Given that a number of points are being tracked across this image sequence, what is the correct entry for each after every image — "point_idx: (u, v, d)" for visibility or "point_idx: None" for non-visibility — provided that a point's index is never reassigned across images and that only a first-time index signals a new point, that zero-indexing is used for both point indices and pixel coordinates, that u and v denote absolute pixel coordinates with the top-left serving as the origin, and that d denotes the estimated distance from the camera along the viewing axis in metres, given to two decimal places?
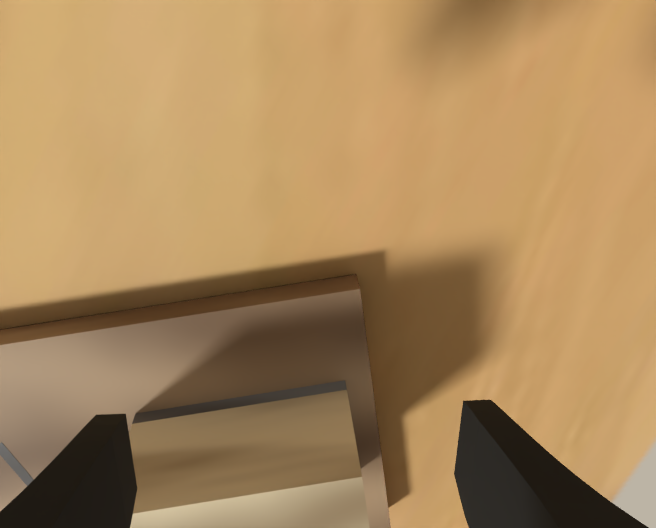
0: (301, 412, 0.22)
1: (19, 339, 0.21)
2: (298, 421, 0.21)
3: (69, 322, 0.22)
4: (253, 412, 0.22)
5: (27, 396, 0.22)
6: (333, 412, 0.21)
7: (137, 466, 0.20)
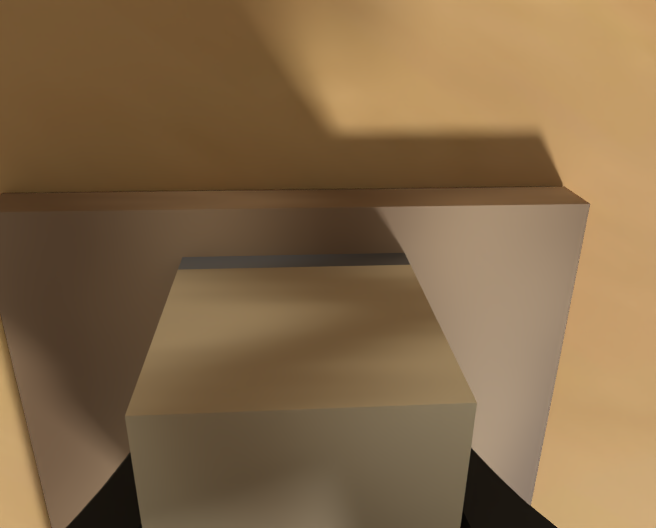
0: None
1: None
2: None
3: None
4: None
5: None
6: None
7: None
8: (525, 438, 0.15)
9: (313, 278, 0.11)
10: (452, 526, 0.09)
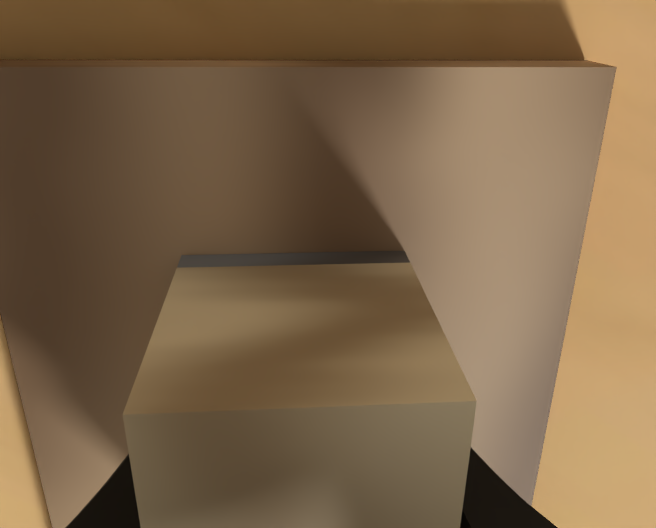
0: None
1: None
2: None
3: None
4: None
5: None
6: None
7: None
8: (542, 344, 0.14)
9: (312, 276, 0.11)
10: (452, 525, 0.09)
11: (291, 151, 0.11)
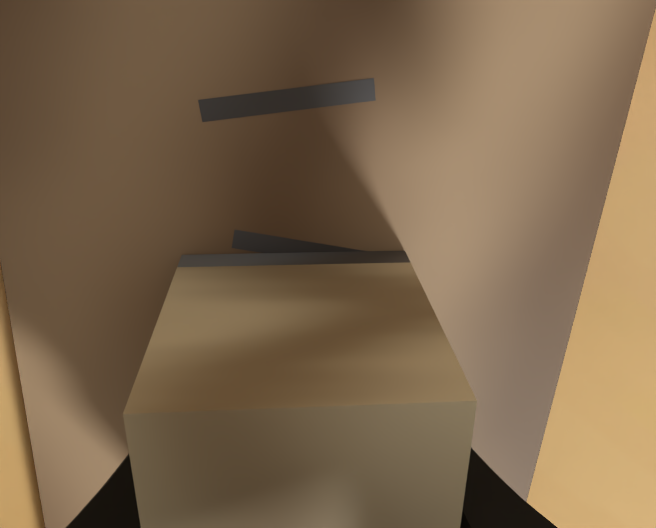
0: None
1: None
2: None
3: None
4: None
5: (123, 316, 0.13)
6: None
7: None
8: (632, 2, 0.11)
9: (313, 276, 0.11)
10: (452, 525, 0.09)
11: None
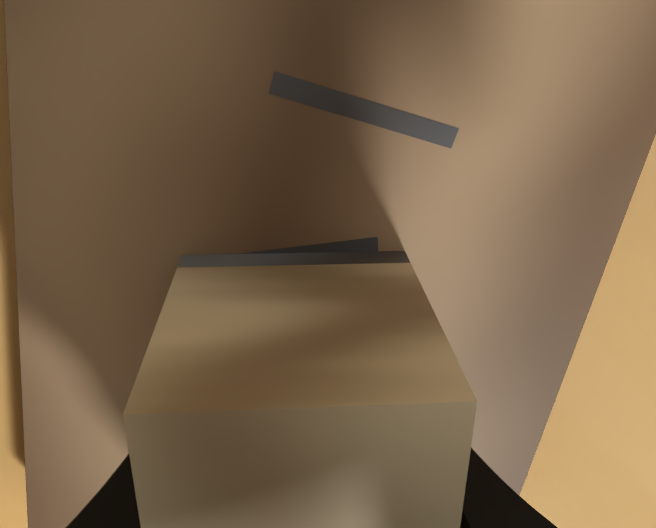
0: None
1: None
2: None
3: None
4: None
5: (138, 163, 0.11)
6: None
7: None
8: None
9: (313, 276, 0.11)
10: (452, 525, 0.09)
11: None
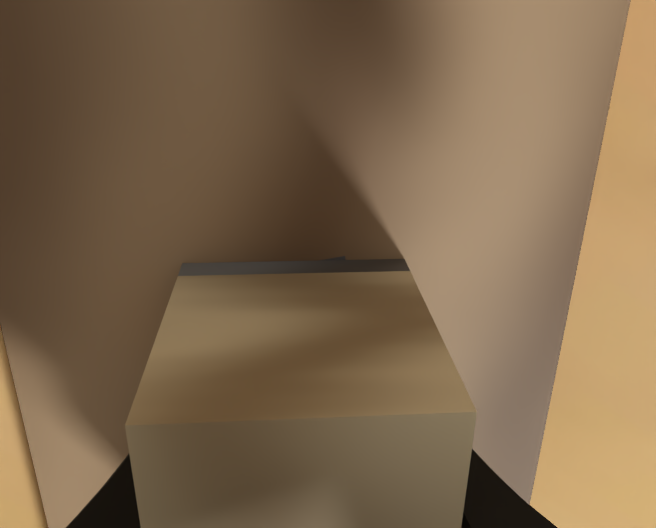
0: None
1: None
2: None
3: None
4: None
5: None
6: None
7: None
8: (572, 180, 0.12)
9: (313, 285, 0.11)
10: None
11: None
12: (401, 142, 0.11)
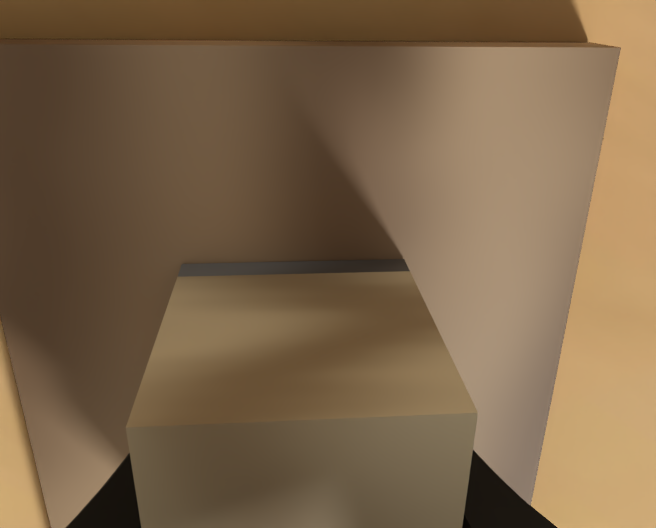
0: None
1: None
2: None
3: None
4: None
5: None
6: None
7: None
8: (544, 331, 0.14)
9: (313, 285, 0.11)
10: None
11: (291, 132, 0.11)
12: None
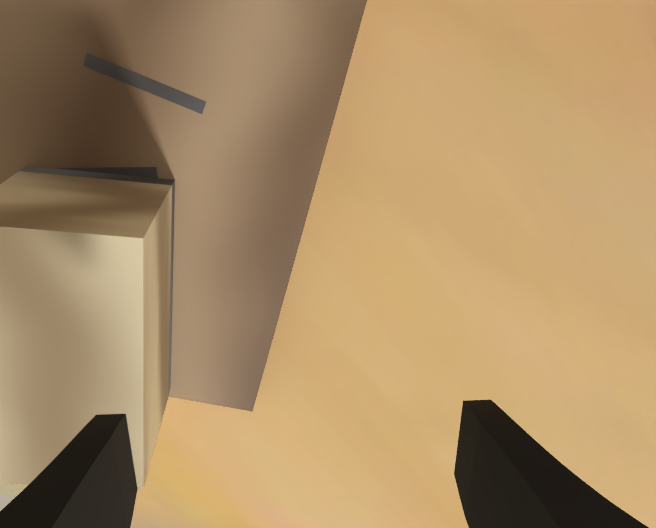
0: None
1: None
2: None
3: None
4: None
5: None
6: None
7: None
8: None
9: (102, 184, 0.18)
10: (138, 316, 0.16)
11: None
12: None
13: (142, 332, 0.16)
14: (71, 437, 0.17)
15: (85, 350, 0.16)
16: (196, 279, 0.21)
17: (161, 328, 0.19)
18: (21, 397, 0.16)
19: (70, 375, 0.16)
